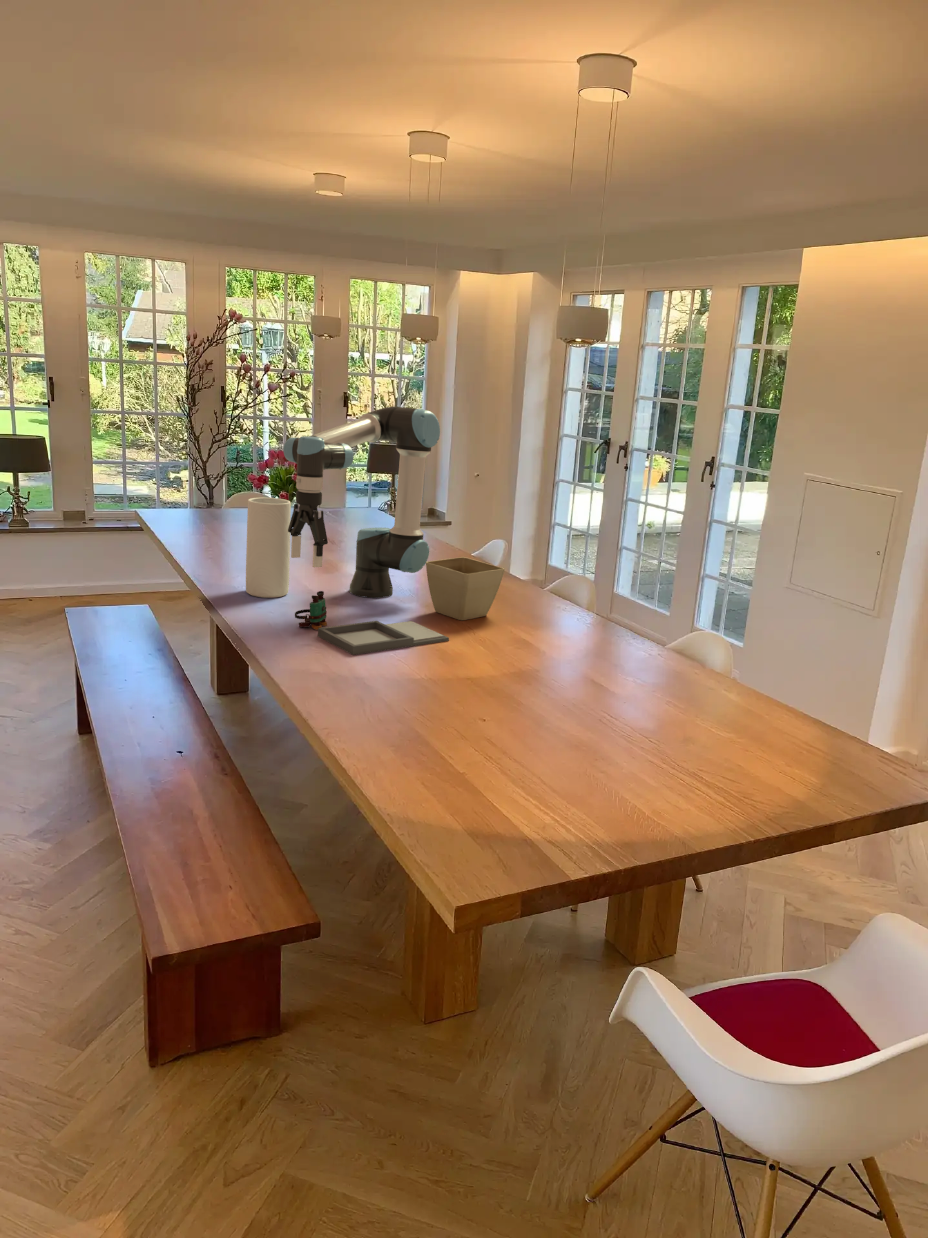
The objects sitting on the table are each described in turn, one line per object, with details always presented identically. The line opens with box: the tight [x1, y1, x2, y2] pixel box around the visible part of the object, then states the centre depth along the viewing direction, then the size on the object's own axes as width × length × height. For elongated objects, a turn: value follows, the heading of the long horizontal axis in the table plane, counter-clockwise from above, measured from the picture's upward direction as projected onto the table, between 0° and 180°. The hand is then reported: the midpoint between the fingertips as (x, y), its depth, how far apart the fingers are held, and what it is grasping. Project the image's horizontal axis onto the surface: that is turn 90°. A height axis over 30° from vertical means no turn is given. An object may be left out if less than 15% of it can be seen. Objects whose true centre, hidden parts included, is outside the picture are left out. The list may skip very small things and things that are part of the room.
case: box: [317, 620, 450, 656], centre depth 267 cm, size 33×19×2 cm, turn 129°
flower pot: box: [425, 556, 505, 621], centre depth 299 cm, size 19×19×17 cm
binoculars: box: [294, 590, 328, 631], centre depth 273 cm, size 9×11×10 cm
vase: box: [245, 497, 292, 599], centre depth 303 cm, size 14×14×32 cm
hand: (306, 562), depth 269 cm, fingers open, 13 cm apart
